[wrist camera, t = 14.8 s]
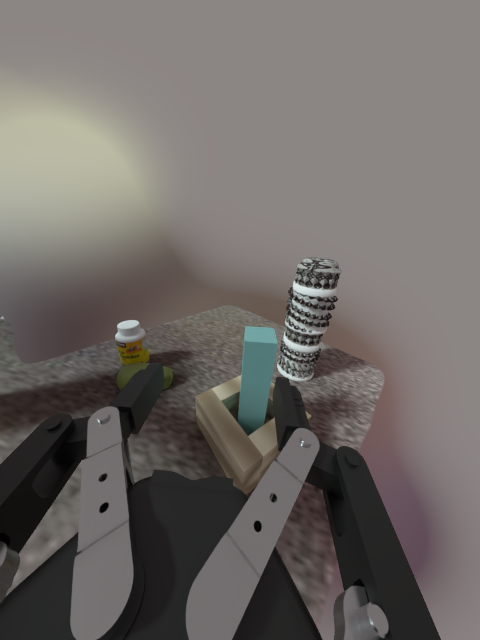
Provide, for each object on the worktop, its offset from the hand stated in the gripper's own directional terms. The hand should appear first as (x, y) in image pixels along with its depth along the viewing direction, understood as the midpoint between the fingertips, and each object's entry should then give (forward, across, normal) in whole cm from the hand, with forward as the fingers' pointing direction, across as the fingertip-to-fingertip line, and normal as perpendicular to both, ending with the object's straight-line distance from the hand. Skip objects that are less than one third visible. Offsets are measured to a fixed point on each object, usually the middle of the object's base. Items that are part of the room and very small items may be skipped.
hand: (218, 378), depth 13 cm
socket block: (+9, -4, +20) cm, 22 cm away
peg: (+9, -4, +18) cm, 20 cm away
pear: (+17, +16, +21) cm, 31 cm away
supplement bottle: (+23, +22, +21) cm, 38 cm away
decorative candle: (+26, -15, +20) cm, 36 cm away
